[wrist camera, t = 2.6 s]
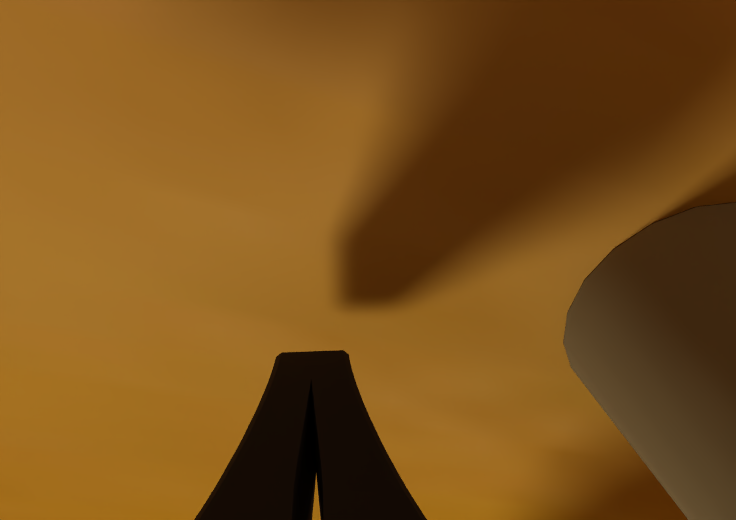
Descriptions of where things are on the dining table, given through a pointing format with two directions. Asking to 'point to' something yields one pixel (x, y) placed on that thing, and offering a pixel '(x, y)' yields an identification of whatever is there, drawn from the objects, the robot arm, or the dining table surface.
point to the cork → (668, 352)
